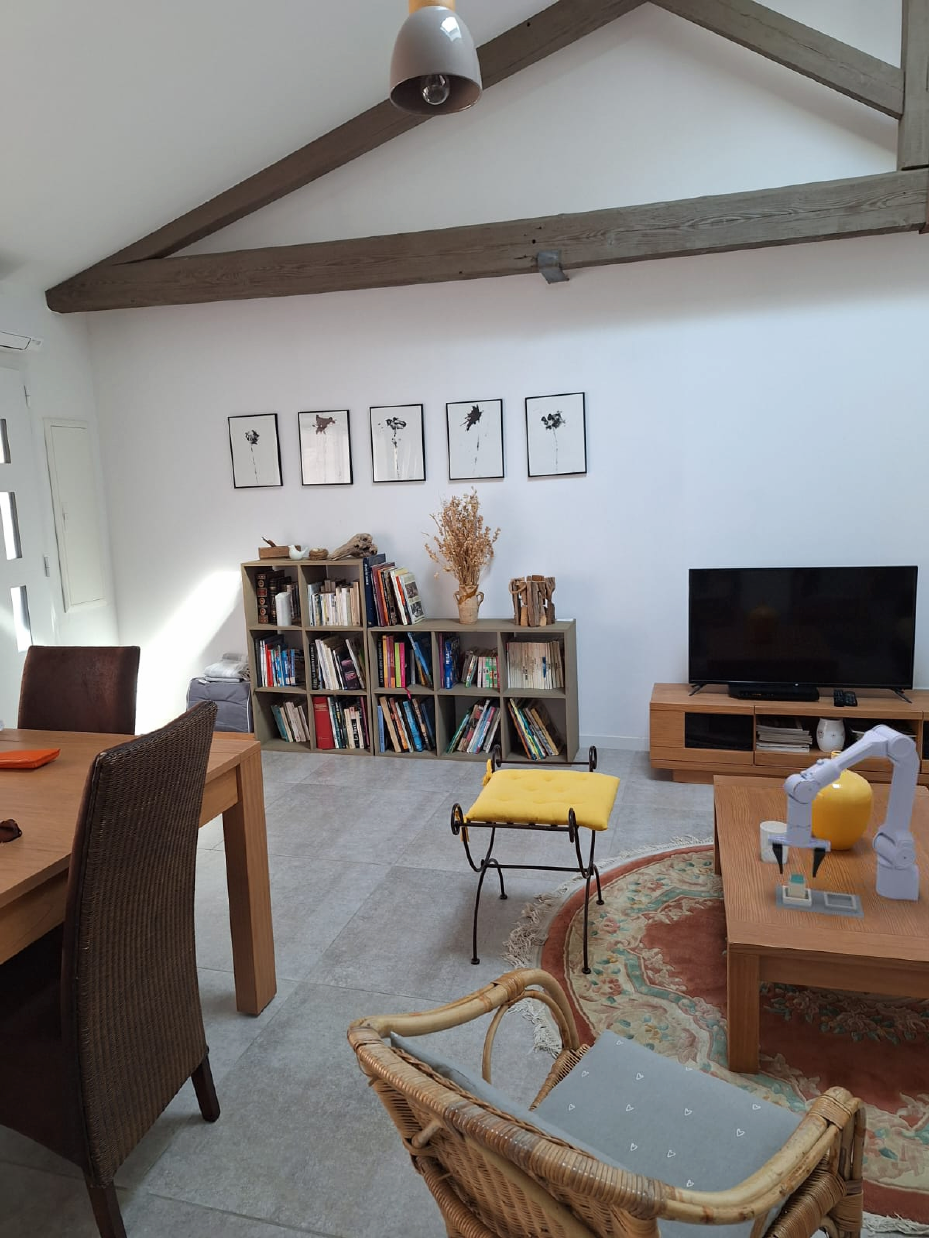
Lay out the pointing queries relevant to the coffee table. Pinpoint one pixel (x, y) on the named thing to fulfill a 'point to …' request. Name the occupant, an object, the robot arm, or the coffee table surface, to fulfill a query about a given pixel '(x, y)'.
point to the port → (797, 900)
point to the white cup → (766, 849)
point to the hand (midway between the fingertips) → (797, 874)
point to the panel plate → (820, 904)
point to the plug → (797, 886)
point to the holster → (838, 907)
